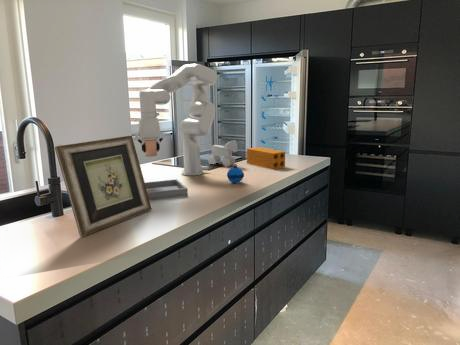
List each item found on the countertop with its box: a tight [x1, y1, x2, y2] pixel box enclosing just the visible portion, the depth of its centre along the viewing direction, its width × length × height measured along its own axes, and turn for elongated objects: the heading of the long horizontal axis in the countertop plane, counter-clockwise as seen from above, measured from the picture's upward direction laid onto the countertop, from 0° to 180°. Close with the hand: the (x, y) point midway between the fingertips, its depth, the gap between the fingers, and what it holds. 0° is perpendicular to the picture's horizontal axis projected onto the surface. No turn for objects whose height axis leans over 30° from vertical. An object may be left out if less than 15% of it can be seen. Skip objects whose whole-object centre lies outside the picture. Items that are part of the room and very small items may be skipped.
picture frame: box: [54, 135, 153, 238], centre depth 135 cm, size 33×10×30 cm, turn 148°
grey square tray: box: [144, 178, 189, 201], centre depth 175 cm, size 20×20×4 cm
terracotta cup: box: [144, 138, 158, 158], centre depth 187 cm, size 6×6×8 cm
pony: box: [207, 139, 239, 168], centre depth 237 cm, size 20×10×17 cm, turn 58°
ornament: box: [226, 163, 245, 184], centre depth 191 cm, size 9×9×10 cm
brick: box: [246, 146, 286, 170], centre depth 236 cm, size 26×10×10 cm, turn 35°
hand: (150, 151), depth 188 cm, fingers closed on terracotta cup, 6 cm apart
